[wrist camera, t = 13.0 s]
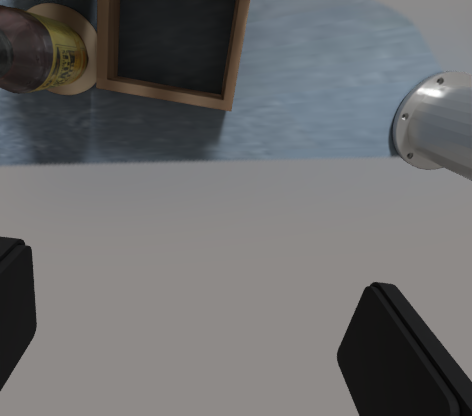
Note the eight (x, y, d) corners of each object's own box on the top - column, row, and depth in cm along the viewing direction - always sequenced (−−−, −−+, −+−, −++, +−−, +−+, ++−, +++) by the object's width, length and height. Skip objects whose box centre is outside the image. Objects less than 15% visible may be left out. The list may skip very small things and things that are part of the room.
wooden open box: (246, -9, 36) (256, -22, 30) (227, 104, 41) (232, 114, 35) (111, -41, 34) (91, -62, 28) (108, 83, 39) (90, 90, 32)
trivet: (105, 14, 36) (103, 13, 35) (103, 100, 39) (102, 101, 39) (13, -6, 34) (10, -6, 34) (20, 86, 38) (17, 87, 37)
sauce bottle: (64, 95, 38) (-54, 135, 20) (17, 45, 36) (-163, 42, 18) (106, 57, 37) (21, 65, 19) (61, 4, 35) (-85, -44, 17)
